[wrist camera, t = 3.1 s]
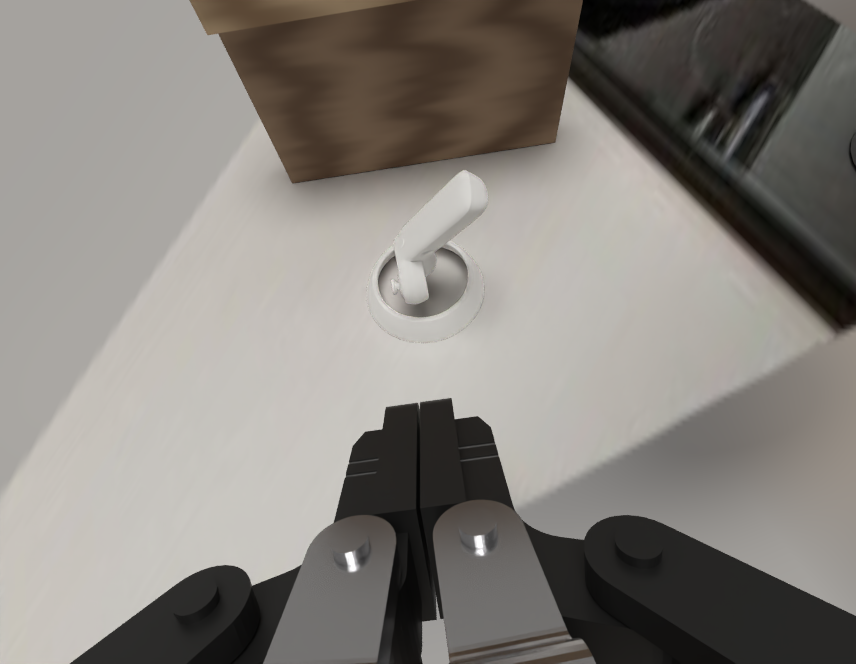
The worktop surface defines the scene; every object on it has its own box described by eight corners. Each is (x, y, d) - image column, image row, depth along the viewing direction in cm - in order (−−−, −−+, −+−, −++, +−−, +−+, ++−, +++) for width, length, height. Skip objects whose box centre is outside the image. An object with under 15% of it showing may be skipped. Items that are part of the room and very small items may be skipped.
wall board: (549, 123, 35) (611, -243, 19) (559, 156, 34) (638, -212, 17) (292, 163, 36) (142, -157, 20) (292, 198, 34) (127, -120, 18)
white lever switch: (591, 287, 23) (483, 283, 19) (455, 352, 32) (365, 357, 29) (553, 158, 25) (448, 129, 21) (435, 255, 34) (348, 248, 30)
